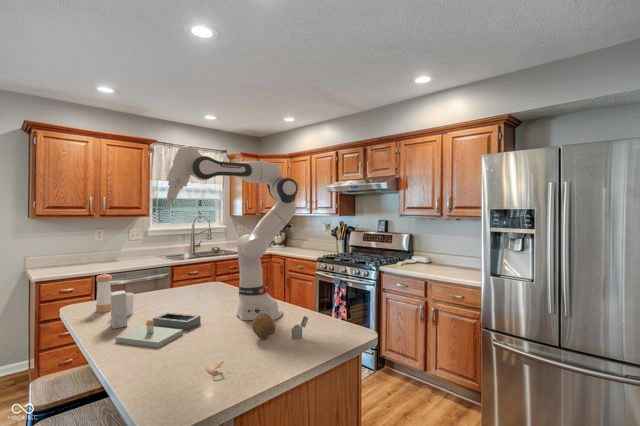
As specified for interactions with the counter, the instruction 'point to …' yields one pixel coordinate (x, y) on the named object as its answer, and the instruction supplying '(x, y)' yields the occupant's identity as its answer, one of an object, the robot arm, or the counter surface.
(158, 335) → the plate
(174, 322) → the grey rectangular frame
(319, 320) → the counter surface
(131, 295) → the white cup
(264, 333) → the natural sponge
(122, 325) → the skincare box
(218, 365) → the key chain
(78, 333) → the counter surface
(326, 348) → the counter surface
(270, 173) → the robot arm
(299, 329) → the lighter
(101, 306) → the pepper shaker
